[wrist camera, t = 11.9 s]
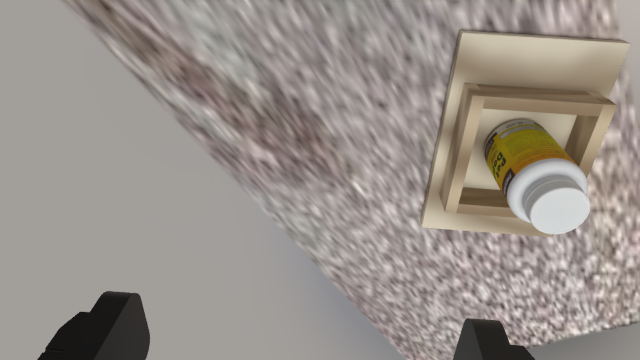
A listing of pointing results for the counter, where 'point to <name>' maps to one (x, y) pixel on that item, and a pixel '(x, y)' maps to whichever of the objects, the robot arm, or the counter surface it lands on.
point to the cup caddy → (515, 117)
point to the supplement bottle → (537, 177)
